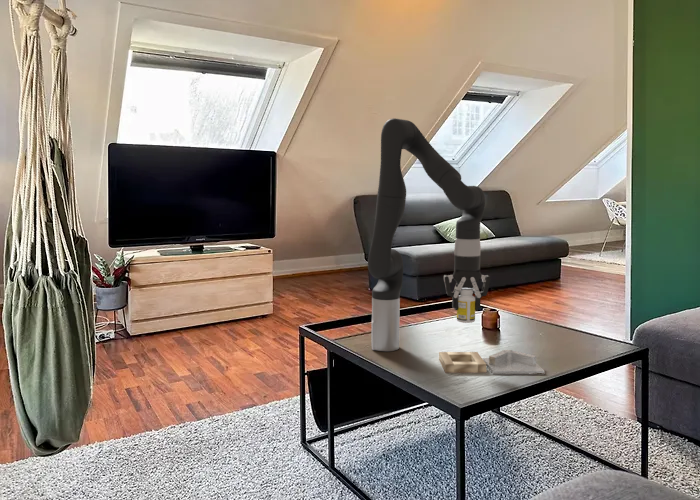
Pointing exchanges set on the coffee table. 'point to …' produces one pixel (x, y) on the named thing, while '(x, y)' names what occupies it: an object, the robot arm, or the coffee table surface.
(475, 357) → the square frame block
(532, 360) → the v block
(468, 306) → the supplement bottle
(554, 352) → the coffee table surface
